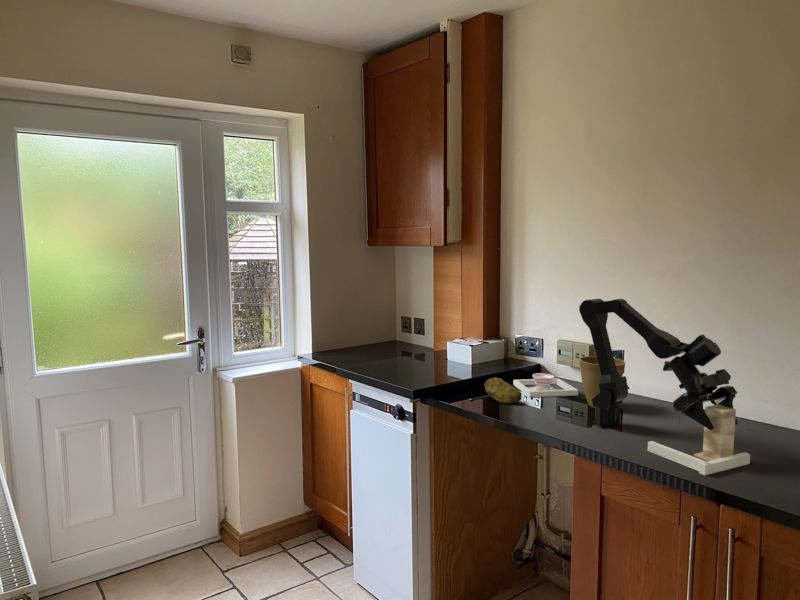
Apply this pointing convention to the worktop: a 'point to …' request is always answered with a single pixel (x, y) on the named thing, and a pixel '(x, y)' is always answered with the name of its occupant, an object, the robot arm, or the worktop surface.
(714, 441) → the birch block
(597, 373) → the plant pot
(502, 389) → the potato
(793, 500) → the worktop surface
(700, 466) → the corner arena
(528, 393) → the saucer tray
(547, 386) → the teacup
